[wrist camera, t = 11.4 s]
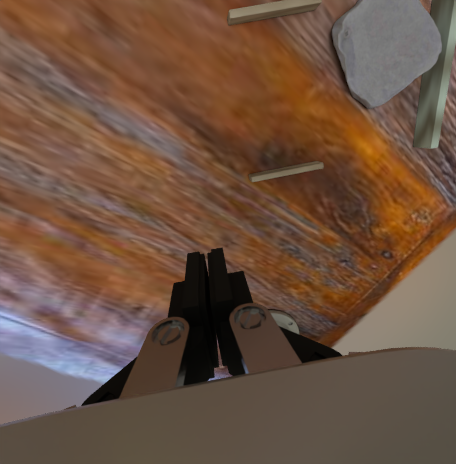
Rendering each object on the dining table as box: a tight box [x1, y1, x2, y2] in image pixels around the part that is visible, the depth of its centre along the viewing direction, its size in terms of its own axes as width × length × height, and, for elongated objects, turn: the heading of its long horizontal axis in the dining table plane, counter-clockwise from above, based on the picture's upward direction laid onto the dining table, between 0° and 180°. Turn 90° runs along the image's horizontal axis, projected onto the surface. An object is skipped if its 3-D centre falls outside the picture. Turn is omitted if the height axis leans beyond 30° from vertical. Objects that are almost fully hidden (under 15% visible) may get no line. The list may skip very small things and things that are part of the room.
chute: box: [227, 0, 456, 182], centre depth 30 cm, size 18×26×3 cm
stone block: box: [332, 0, 442, 109], centre depth 29 cm, size 12×5×10 cm
